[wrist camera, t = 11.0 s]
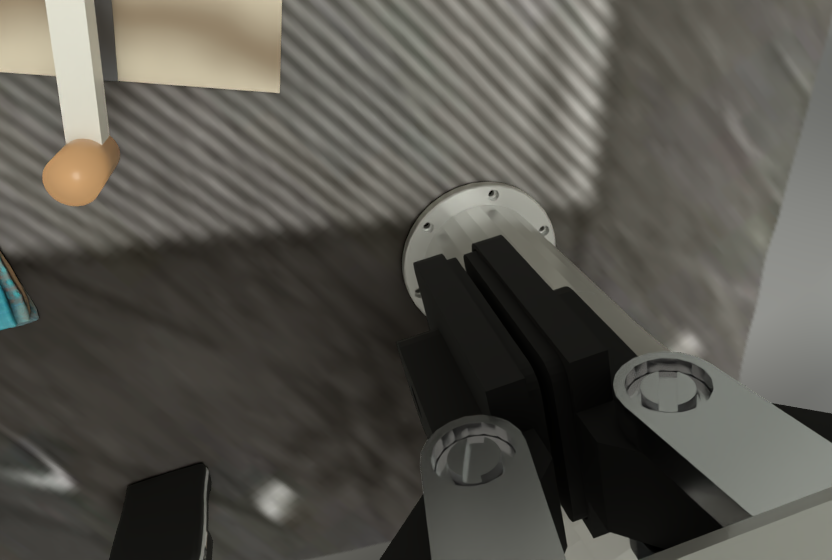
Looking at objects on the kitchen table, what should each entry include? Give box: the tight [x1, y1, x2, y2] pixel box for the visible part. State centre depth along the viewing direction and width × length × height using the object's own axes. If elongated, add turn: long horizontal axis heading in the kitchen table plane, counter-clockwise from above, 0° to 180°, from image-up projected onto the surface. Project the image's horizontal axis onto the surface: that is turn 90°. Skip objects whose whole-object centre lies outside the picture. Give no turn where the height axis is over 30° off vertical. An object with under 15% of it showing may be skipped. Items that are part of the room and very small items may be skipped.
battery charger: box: [109, 464, 213, 560], centre depth 50 cm, size 7×4×11 cm, turn 102°
